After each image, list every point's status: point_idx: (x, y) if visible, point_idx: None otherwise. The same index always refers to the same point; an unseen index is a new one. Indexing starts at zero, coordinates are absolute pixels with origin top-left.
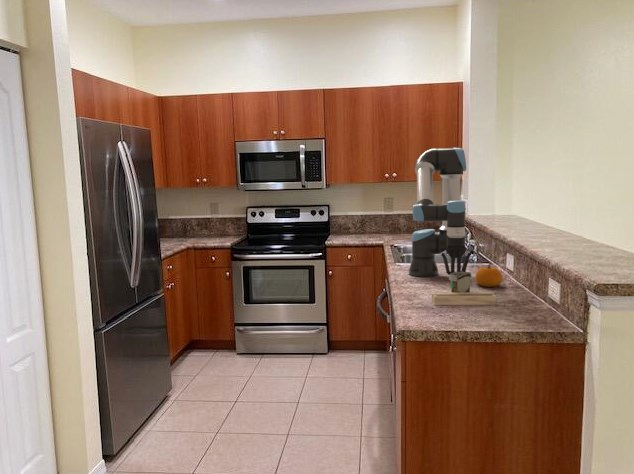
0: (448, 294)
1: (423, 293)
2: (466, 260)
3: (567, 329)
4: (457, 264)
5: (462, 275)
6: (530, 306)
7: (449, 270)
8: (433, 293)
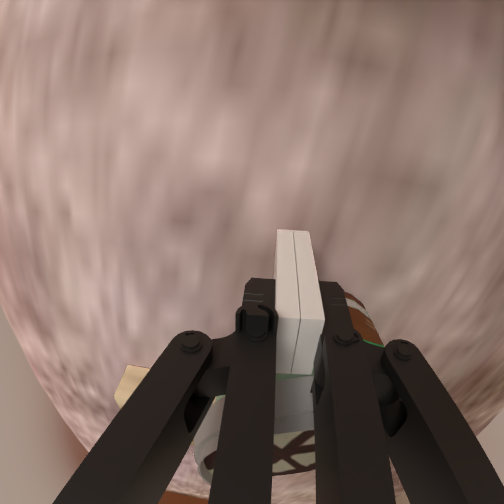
0: (191, 442)
1: (69, 216)
2: None
3: (396, 493)
4: (324, 488)
5: (306, 464)
6: (467, 418)
7: (198, 422)
8: (122, 405)
